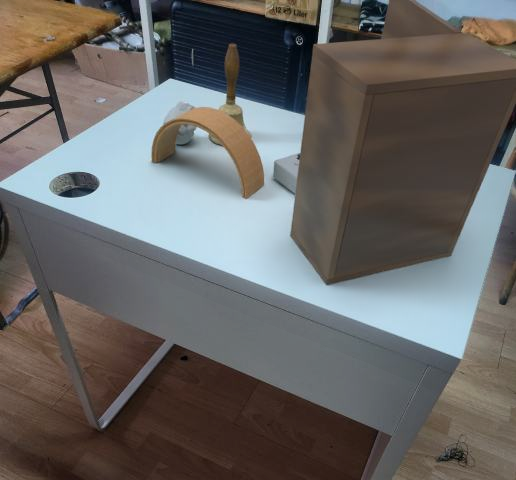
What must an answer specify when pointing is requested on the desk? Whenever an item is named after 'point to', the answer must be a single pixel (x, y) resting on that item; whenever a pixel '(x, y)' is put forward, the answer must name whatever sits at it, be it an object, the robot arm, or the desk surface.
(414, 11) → the cupboard door
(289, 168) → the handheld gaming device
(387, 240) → the cupboard
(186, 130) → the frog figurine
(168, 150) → the arch
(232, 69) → the hand bell
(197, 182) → the desk surface
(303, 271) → the desk surface
